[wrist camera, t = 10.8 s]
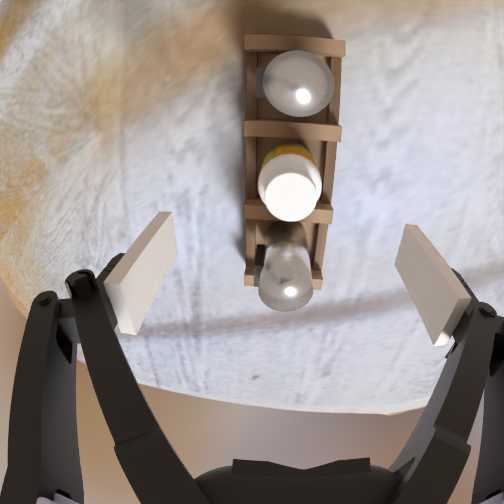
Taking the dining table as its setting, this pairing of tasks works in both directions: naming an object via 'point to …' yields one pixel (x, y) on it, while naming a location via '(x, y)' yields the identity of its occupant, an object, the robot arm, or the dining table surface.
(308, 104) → the shiny gray cylinder
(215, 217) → the dining table surface
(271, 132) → the wooden spice rack
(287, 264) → the glass spice jar
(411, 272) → the robot arm
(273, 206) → the supplement bottle
